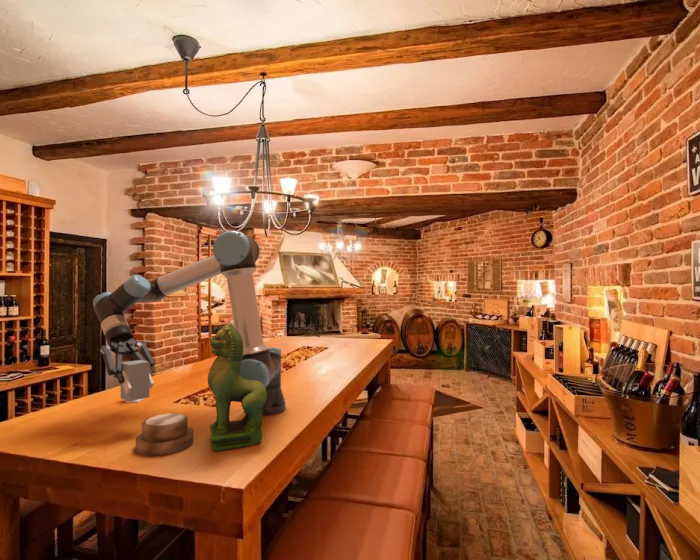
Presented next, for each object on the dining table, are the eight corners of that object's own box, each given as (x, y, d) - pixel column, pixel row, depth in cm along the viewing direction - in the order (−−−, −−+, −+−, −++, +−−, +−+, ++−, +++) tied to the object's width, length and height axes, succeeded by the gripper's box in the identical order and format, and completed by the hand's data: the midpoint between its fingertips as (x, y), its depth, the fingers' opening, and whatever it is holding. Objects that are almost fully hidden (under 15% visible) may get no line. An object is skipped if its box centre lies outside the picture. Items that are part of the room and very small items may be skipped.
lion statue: (206, 437, 120) (207, 321, 120) (261, 429, 126) (262, 319, 127) (208, 454, 107) (209, 325, 108) (269, 445, 114) (270, 323, 114)
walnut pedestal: (200, 434, 122) (200, 410, 122) (181, 455, 107) (181, 427, 107) (150, 435, 121) (150, 411, 121) (124, 456, 106) (125, 428, 106)
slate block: (140, 394, 128) (140, 359, 128) (149, 397, 124) (149, 361, 124) (120, 398, 123) (120, 362, 123) (129, 401, 119) (129, 364, 119)
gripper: (142, 336, 141) (166, 389, 130) (81, 342, 126) (102, 402, 115) (150, 321, 137) (174, 375, 127) (88, 326, 122) (110, 387, 112)
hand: (140, 388), depth 121 cm, fingers closed on slate block, 6 cm apart
